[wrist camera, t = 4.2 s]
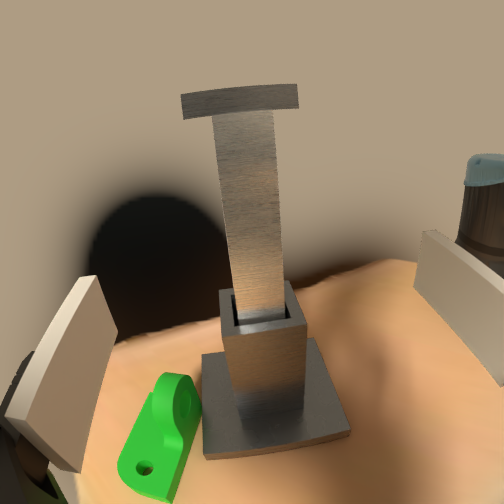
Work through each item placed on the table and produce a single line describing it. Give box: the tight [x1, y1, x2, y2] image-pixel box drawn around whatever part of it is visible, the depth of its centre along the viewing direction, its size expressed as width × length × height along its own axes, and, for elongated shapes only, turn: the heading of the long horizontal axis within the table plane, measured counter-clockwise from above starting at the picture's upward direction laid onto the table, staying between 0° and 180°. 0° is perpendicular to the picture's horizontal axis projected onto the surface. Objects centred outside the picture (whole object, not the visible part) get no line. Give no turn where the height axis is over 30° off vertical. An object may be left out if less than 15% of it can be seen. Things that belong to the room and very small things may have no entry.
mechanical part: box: [117, 372, 202, 504], centre depth 23 cm, size 12×6×8 cm, turn 171°
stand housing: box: [202, 280, 351, 460], centre depth 28 cm, size 14×14×14 cm
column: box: [181, 84, 299, 326], centre depth 24 cm, size 7×4×28 cm, turn 97°
